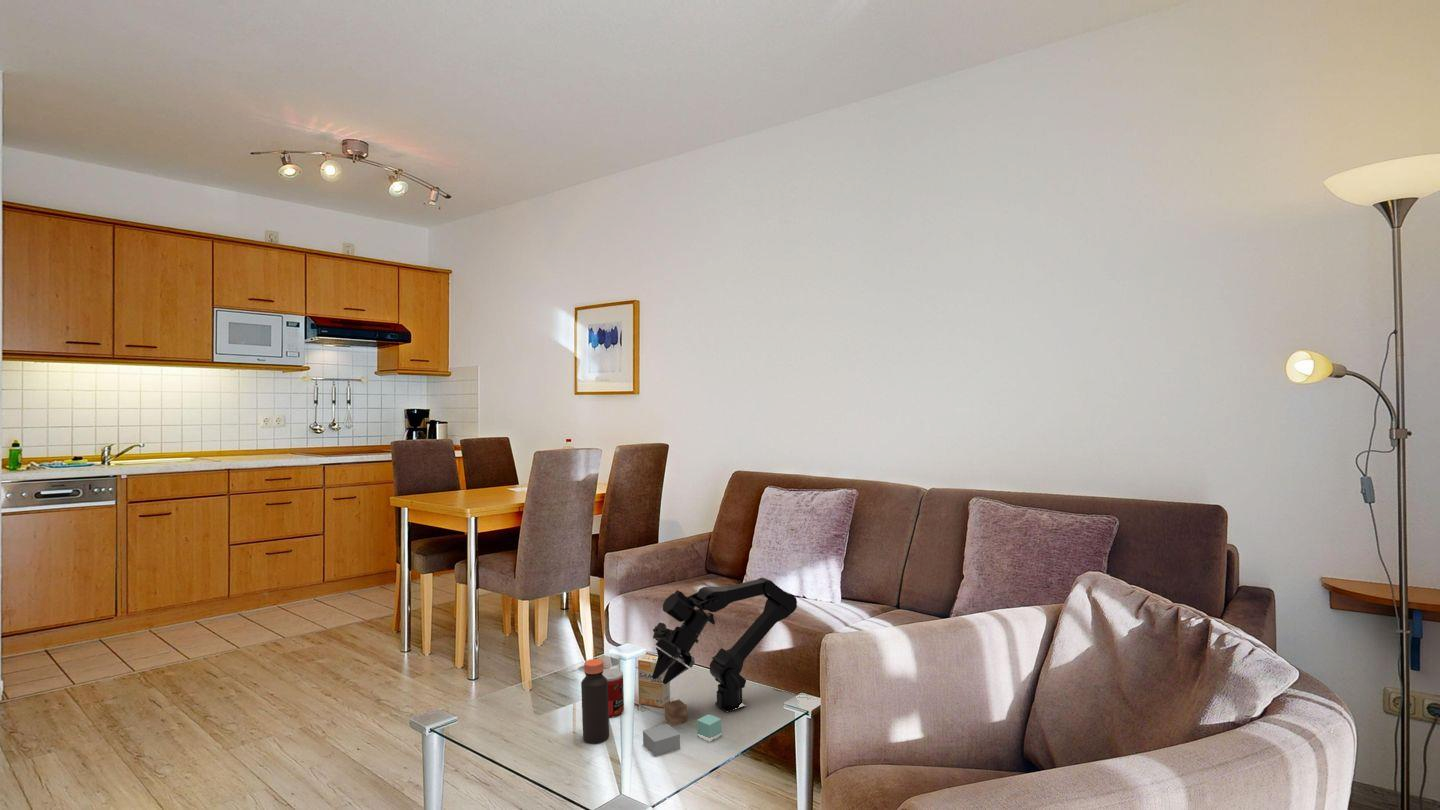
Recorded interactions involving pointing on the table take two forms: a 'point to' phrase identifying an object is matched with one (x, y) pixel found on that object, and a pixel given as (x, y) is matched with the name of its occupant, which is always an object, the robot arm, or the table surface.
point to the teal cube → (709, 726)
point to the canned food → (614, 691)
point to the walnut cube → (675, 712)
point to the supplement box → (651, 683)
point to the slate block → (661, 740)
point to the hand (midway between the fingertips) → (658, 681)
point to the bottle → (595, 703)
